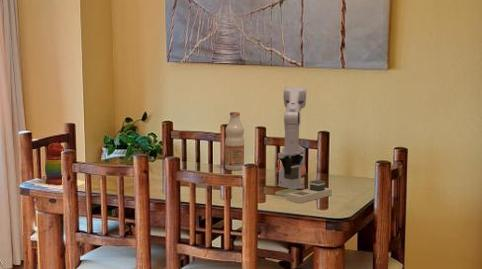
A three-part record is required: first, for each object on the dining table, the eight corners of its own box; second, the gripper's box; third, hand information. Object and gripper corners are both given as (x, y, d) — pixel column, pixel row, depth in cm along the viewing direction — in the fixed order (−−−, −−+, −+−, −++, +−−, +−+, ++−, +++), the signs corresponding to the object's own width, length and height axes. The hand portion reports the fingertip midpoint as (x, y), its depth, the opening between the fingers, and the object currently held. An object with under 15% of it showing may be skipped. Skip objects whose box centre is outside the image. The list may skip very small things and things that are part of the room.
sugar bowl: (306, 178, 320) (307, 156, 318) (276, 178, 320) (276, 156, 319) (304, 173, 332) (305, 152, 331) (275, 173, 332) (275, 152, 331)
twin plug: (309, 195, 283) (310, 181, 282) (316, 194, 286) (316, 179, 285) (318, 197, 280) (318, 182, 279) (324, 195, 283) (324, 181, 282)
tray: (275, 195, 285) (275, 192, 284) (289, 192, 291) (289, 188, 291) (292, 199, 278) (292, 195, 278) (306, 196, 285) (306, 192, 285)
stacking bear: (59, 185, 300) (58, 145, 298) (39, 183, 304) (38, 143, 301) (73, 181, 310) (72, 141, 308) (54, 179, 314) (53, 140, 311)
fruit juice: (221, 169, 340) (221, 112, 336) (230, 166, 348) (231, 111, 344) (238, 171, 336) (238, 113, 332) (247, 168, 344) (247, 112, 340)
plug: (283, 178, 284) (284, 163, 283) (290, 176, 287) (290, 162, 286) (291, 179, 281) (292, 165, 280) (298, 178, 284) (299, 164, 283)
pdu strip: (286, 201, 274) (286, 193, 274) (317, 193, 289) (318, 186, 288) (300, 204, 270) (300, 196, 269) (331, 196, 284) (331, 189, 283)
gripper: (287, 143, 274) (287, 177, 275) (310, 140, 284) (309, 172, 286) (274, 141, 278) (273, 174, 280) (297, 138, 289) (296, 170, 291)
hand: (291, 173), depth 283 cm, fingers closed on plug, 4 cm apart
